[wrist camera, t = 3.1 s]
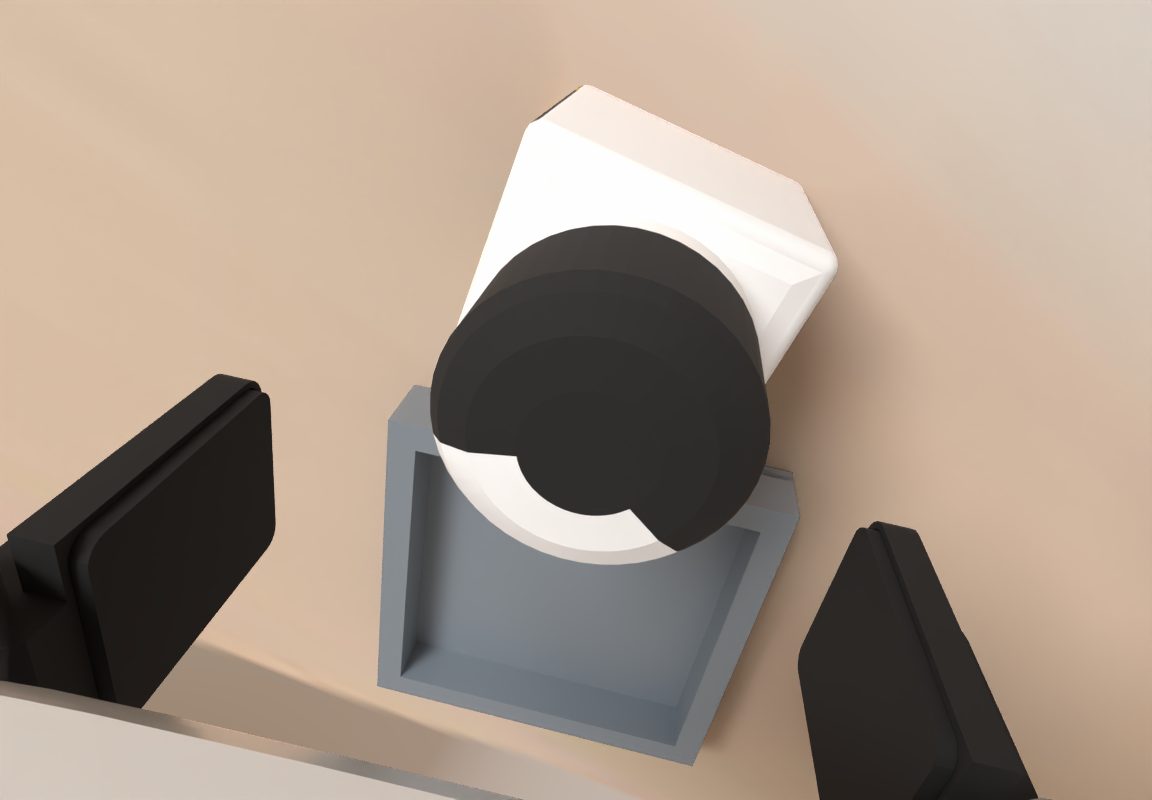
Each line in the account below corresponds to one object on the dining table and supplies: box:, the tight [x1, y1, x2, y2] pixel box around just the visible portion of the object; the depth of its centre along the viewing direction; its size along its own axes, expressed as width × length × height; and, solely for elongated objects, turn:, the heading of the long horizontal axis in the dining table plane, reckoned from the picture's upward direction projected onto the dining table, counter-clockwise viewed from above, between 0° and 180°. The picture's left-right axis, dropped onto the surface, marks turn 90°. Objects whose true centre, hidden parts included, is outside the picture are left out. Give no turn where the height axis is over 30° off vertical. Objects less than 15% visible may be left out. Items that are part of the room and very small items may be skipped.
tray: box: [377, 385, 800, 766], centre depth 28 cm, size 14×14×2 cm
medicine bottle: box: [430, 85, 839, 565], centre depth 17 cm, size 7×7×12 cm
